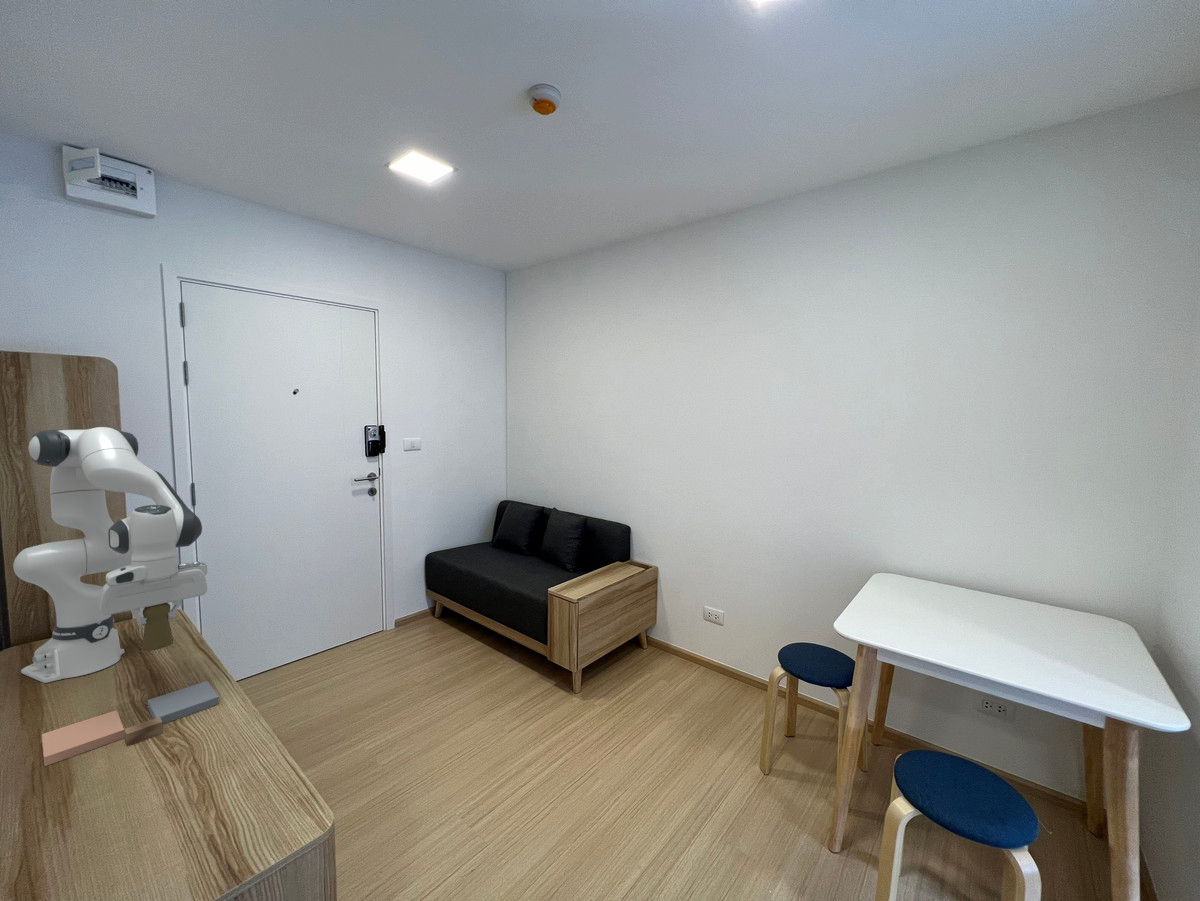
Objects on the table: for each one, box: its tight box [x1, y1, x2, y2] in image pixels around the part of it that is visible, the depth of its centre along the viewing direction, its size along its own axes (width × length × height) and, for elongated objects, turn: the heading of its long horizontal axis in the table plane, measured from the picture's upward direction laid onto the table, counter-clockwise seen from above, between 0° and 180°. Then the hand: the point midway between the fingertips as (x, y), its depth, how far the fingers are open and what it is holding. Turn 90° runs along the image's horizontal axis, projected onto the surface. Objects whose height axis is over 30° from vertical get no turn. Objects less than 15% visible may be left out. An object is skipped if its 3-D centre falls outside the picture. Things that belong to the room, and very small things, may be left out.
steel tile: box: [147, 680, 220, 725], centre depth 121 cm, size 12×12×2 cm
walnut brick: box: [124, 717, 164, 747], centre depth 109 cm, size 6×3×3 cm, turn 142°
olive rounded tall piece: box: [141, 602, 175, 652], centre depth 121 cm, size 6×6×11 cm
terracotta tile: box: [41, 709, 125, 767], centre depth 108 cm, size 12×12×2 cm
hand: (157, 621), depth 121 cm, fingers closed on olive rounded tall piece, 4 cm apart
